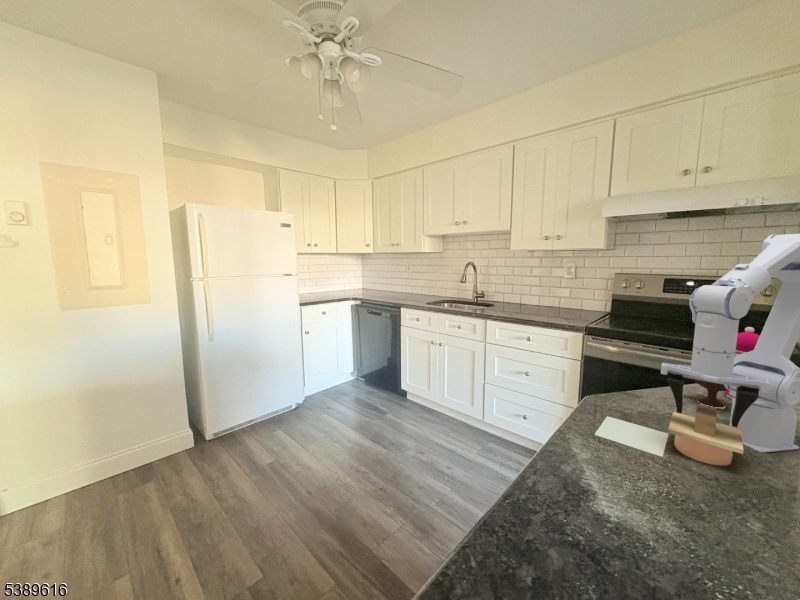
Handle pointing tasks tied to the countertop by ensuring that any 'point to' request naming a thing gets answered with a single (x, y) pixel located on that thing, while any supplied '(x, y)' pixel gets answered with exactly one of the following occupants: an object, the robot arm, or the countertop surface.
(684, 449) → the bowl
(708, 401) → the ice cream bowl
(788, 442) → the robot arm
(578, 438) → the countertop surface
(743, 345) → the pepper mill
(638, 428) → the mat
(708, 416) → the lid
